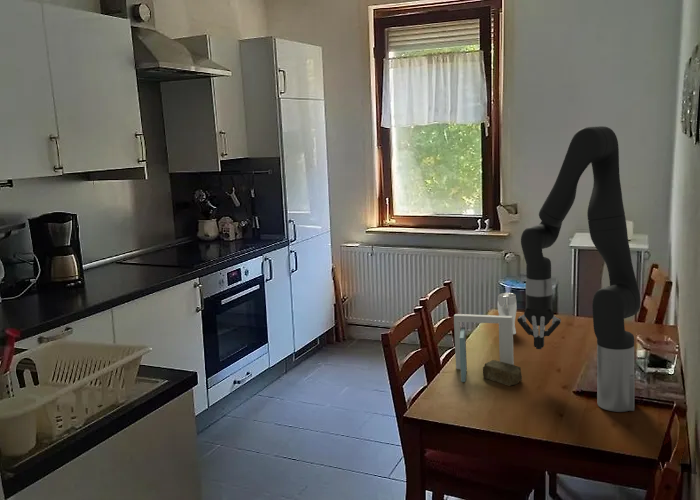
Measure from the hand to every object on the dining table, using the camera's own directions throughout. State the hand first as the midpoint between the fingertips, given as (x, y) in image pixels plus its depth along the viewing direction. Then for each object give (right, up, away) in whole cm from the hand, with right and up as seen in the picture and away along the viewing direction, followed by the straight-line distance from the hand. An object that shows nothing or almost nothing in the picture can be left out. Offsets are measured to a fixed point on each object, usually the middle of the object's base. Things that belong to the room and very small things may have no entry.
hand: (539, 348), depth 193 cm
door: (-21, -10, +11) cm, 25 cm away
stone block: (-10, -11, +5) cm, 16 cm away
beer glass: (+3, -2, +52) cm, 52 cm away
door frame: (-14, -9, +15) cm, 23 cm away
